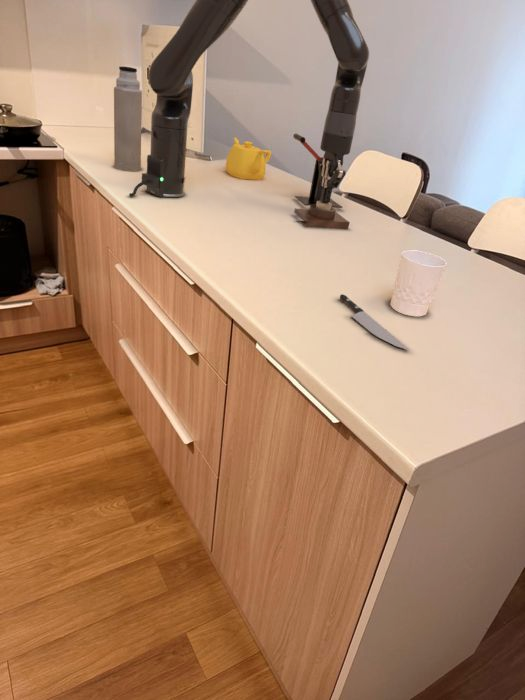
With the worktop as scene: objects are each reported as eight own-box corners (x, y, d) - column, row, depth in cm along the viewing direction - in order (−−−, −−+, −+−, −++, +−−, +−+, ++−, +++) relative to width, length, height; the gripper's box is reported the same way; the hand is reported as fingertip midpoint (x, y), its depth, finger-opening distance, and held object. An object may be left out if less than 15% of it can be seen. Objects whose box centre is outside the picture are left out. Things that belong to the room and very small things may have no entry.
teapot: (283, 184, 170) (288, 150, 165) (241, 183, 163) (245, 147, 158) (253, 168, 186) (257, 137, 181) (215, 166, 179) (218, 134, 174)
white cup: (381, 297, 97) (396, 247, 92) (420, 301, 98) (436, 252, 93) (394, 316, 90) (410, 263, 85) (435, 320, 91) (454, 268, 86)
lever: (298, 141, 138) (304, 134, 137) (291, 137, 143) (296, 130, 142) (329, 174, 145) (335, 168, 145) (321, 169, 150) (327, 163, 149)
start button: (318, 211, 132) (320, 204, 131) (313, 206, 135) (314, 200, 135) (332, 211, 133) (334, 205, 133) (326, 207, 137) (328, 201, 136)
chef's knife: (392, 354, 78) (408, 351, 79) (394, 348, 78) (409, 345, 79) (329, 299, 92) (342, 297, 94) (330, 294, 92) (343, 292, 93)
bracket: (304, 208, 147) (313, 160, 140) (294, 199, 154) (302, 154, 147) (341, 210, 150) (351, 164, 144) (330, 202, 158) (339, 157, 151)
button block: (306, 227, 130) (309, 212, 128) (293, 215, 138) (296, 200, 136) (347, 229, 134) (351, 214, 132) (333, 217, 142) (336, 203, 140)
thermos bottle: (123, 163, 163) (123, 65, 149) (145, 168, 162) (147, 69, 148) (109, 167, 157) (108, 64, 143) (132, 172, 155) (132, 68, 141)
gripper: (314, 125, 129) (303, 194, 138) (335, 135, 118) (320, 208, 127) (341, 129, 131) (328, 196, 140) (363, 138, 121) (347, 210, 129)
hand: (324, 201), depth 134 cm, fingers closed
